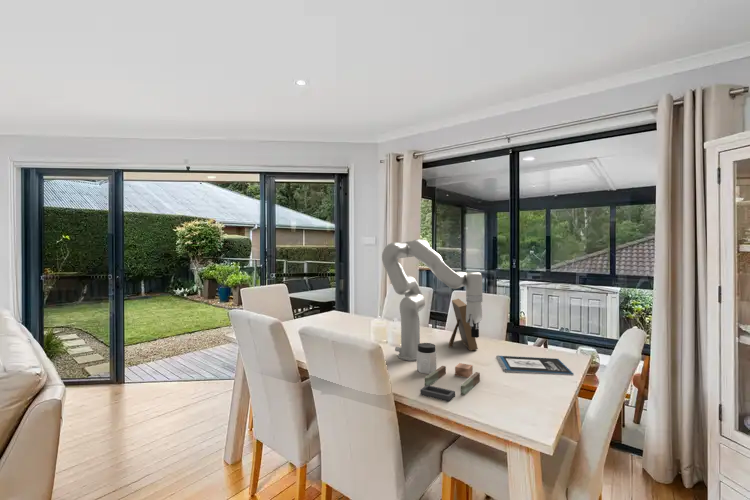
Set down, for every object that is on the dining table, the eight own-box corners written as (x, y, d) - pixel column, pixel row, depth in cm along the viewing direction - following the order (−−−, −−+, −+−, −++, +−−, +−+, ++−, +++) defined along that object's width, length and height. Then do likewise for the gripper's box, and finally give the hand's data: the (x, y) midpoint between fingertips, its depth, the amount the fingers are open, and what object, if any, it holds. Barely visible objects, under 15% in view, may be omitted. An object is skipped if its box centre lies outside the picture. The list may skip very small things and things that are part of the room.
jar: (415, 372, 176) (415, 346, 175) (418, 367, 183) (418, 342, 183) (434, 374, 173) (434, 348, 173) (437, 369, 181) (437, 343, 180)
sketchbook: (573, 376, 172) (573, 372, 172) (503, 373, 176) (503, 368, 176) (558, 361, 193) (558, 356, 193) (495, 358, 198) (495, 354, 198)
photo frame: (468, 340, 231) (468, 298, 231) (477, 350, 210) (477, 304, 209) (443, 340, 232) (443, 298, 231) (450, 351, 210) (449, 305, 209)
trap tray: (420, 394, 151) (420, 389, 151) (427, 389, 156) (427, 384, 156) (449, 401, 144) (449, 396, 144) (455, 396, 149) (455, 391, 149)
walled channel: (424, 386, 160) (424, 377, 160) (442, 373, 175) (442, 365, 175) (464, 395, 150) (464, 386, 150) (479, 380, 165) (479, 372, 165)
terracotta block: (455, 375, 172) (455, 366, 172) (459, 371, 178) (459, 363, 177) (468, 378, 169) (468, 369, 169) (472, 374, 174) (472, 365, 174)
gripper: (472, 296, 192) (472, 332, 192) (460, 300, 179) (461, 339, 179) (487, 296, 187) (487, 334, 188) (476, 301, 175) (477, 341, 175)
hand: (475, 337), depth 184 cm, fingers closed
